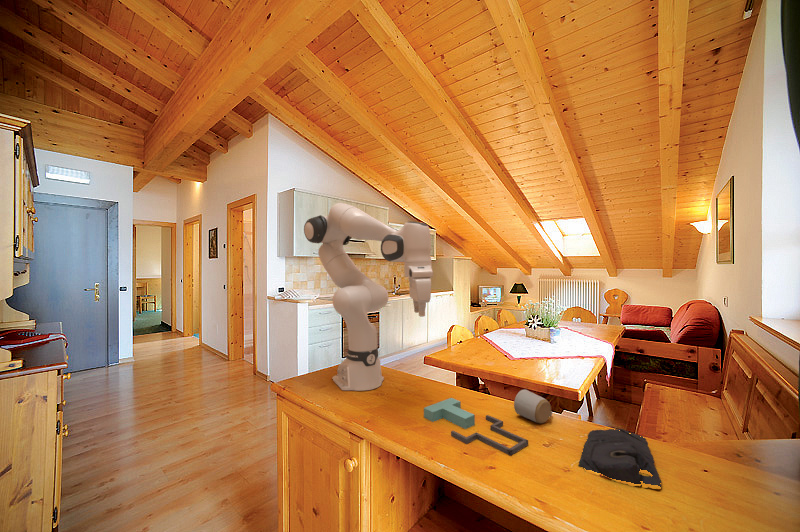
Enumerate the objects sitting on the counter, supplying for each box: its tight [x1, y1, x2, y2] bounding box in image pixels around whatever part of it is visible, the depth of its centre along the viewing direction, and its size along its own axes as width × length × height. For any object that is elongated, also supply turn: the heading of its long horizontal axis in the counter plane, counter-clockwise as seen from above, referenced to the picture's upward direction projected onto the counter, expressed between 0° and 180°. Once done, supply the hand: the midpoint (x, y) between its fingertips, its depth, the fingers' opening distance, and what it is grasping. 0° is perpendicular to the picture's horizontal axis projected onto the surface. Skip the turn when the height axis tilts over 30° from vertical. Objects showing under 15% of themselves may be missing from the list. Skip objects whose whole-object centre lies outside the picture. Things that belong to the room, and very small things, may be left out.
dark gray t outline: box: [450, 414, 529, 457], centre depth 90 cm, size 16×16×1 cm
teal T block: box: [423, 397, 476, 430], centre depth 101 cm, size 13×12×3 cm
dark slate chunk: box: [577, 428, 662, 487], centre depth 80 cm, size 15×22×5 cm
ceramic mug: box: [513, 389, 553, 424], centre depth 101 cm, size 11×8×8 cm
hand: (419, 314), depth 109 cm, fingers open, 8 cm apart
